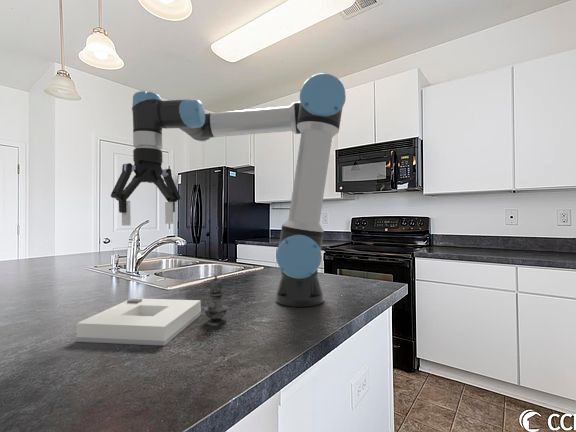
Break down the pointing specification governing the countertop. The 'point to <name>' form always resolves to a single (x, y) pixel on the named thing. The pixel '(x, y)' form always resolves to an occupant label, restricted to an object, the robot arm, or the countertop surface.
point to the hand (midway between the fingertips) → (149, 224)
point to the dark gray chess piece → (215, 304)
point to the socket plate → (140, 322)
